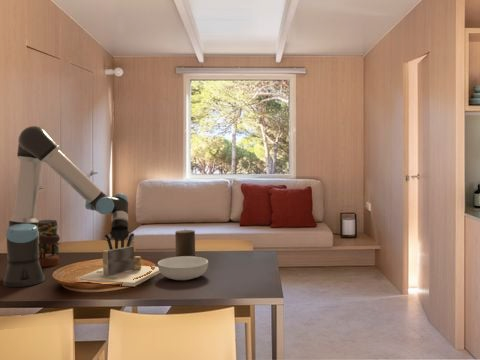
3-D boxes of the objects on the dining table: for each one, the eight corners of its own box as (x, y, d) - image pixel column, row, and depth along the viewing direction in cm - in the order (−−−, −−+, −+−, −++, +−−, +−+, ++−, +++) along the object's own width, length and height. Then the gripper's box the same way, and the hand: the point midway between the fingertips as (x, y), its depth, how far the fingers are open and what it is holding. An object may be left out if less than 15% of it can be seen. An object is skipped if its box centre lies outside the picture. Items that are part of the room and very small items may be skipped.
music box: (45, 268, 210) (44, 225, 209) (27, 267, 214) (26, 224, 213) (69, 261, 224) (67, 221, 223) (52, 260, 228) (50, 220, 227)
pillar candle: (190, 261, 220) (189, 230, 219) (172, 259, 223) (171, 229, 222) (198, 257, 229) (198, 227, 228) (181, 256, 232) (180, 226, 232)
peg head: (137, 267, 201) (137, 244, 200) (142, 268, 198) (142, 245, 198) (102, 274, 189) (101, 250, 188) (107, 276, 186) (106, 251, 186)
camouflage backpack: (61, 252, 246) (59, 218, 245) (52, 256, 238) (51, 220, 238) (44, 252, 248) (43, 218, 247) (36, 255, 240) (34, 220, 239)
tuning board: (134, 286, 177) (134, 282, 177) (75, 282, 185) (75, 278, 185) (164, 270, 202) (164, 266, 202) (111, 267, 210) (111, 263, 210)
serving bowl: (161, 286, 176) (160, 269, 176) (155, 274, 196) (155, 258, 196) (213, 281, 182) (213, 264, 182) (202, 269, 202) (202, 254, 202)
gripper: (134, 227, 214) (135, 270, 199) (105, 228, 211) (104, 273, 196) (134, 217, 208) (134, 261, 193) (104, 219, 206) (102, 264, 191)
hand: (119, 267), depth 195 cm, fingers closed
